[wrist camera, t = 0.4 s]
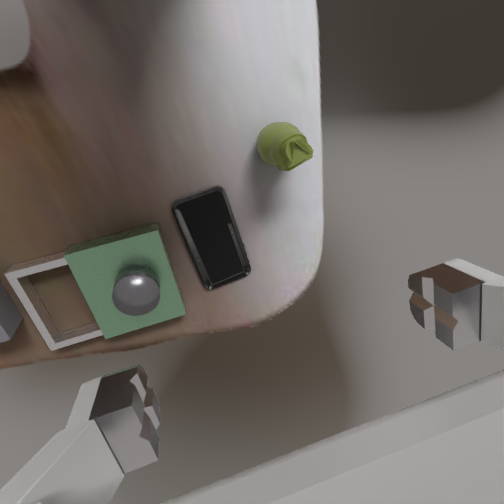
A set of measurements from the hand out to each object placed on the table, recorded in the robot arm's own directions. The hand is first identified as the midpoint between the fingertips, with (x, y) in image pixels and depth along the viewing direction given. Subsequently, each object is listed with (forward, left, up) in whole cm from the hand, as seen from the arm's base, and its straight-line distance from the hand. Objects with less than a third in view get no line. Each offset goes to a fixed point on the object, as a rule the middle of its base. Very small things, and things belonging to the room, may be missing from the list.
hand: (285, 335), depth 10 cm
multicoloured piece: (+16, -16, -39) cm, 45 cm away
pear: (+2, +12, -39) cm, 41 cm away
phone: (+14, +1, -40) cm, 42 cm away
